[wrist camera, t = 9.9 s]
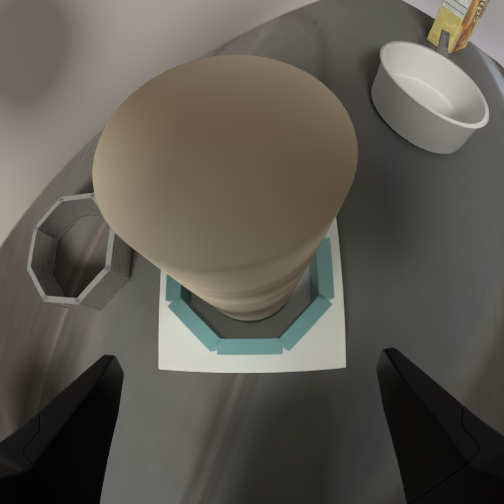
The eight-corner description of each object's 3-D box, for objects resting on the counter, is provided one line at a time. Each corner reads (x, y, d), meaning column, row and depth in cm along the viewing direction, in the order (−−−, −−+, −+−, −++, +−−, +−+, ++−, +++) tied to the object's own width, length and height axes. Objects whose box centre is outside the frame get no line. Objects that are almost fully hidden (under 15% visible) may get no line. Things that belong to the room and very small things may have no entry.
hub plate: (337, 364, 18) (359, 371, 13) (168, 366, 18) (143, 373, 14) (327, 206, 21) (342, 174, 16) (175, 210, 21) (156, 179, 17)
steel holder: (128, 312, 19) (108, 307, 16) (46, 305, 19) (23, 299, 16) (138, 206, 21) (122, 188, 18) (59, 214, 21) (40, 199, 19)
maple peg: (270, 336, 16) (292, 328, 4) (193, 299, 17) (50, 201, 5) (305, 260, 18) (381, 96, 5) (231, 226, 18) (182, 43, 6)
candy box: (446, 33, 30) (473, -31, 15) (465, 49, 29) (497, -15, 14) (425, 39, 28) (455, -37, 14) (447, 56, 27) (483, -20, 13)
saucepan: (467, 83, 26) (484, 56, 21) (456, 185, 21) (489, 153, 16) (394, 40, 28) (405, 9, 23) (348, 119, 23) (364, 74, 18)
